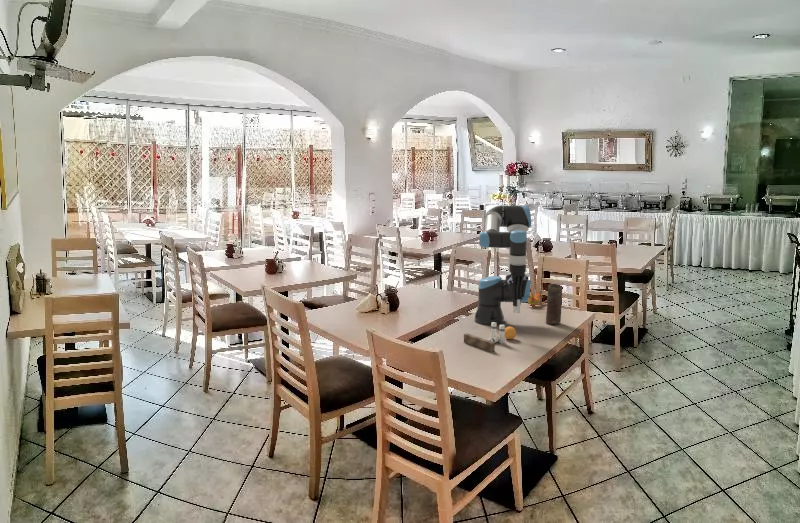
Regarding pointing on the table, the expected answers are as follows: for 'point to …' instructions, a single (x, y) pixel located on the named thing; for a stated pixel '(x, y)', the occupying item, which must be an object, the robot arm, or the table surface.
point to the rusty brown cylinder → (554, 304)
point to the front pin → (494, 339)
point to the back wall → (479, 342)
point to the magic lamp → (534, 299)
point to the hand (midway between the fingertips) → (516, 312)
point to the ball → (510, 332)
